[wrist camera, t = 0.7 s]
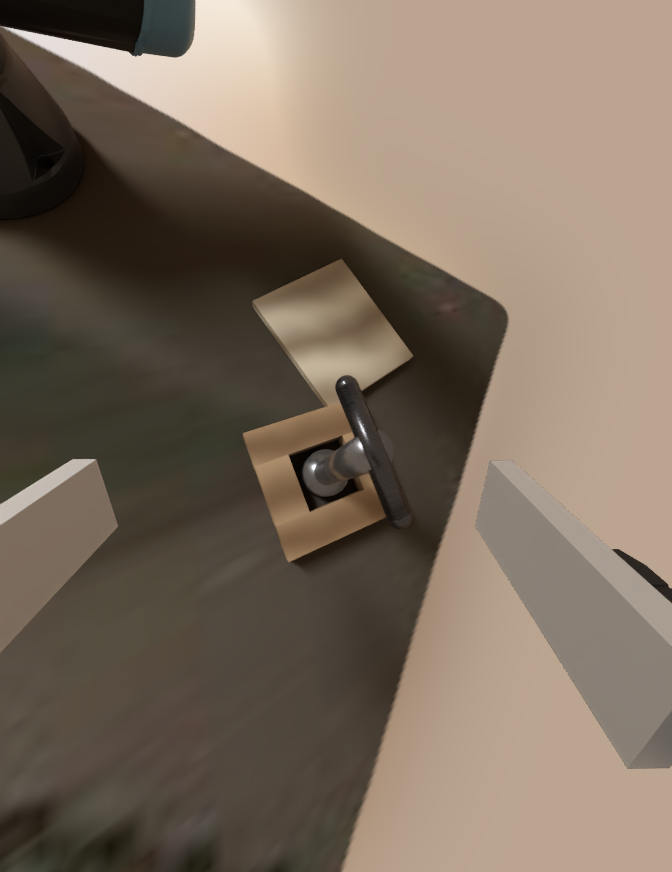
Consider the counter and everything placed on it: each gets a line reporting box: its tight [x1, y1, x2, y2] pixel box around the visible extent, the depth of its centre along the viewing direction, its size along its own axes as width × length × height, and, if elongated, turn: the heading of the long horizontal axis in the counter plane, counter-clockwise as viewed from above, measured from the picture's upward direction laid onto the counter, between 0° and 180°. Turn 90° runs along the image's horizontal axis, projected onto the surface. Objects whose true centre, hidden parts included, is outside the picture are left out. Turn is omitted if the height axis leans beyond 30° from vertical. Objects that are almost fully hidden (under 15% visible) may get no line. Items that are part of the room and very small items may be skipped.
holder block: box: [243, 403, 386, 562], centre depth 31 cm, size 12×12×2 cm
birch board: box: [252, 259, 413, 407], centre depth 35 cm, size 14×12×1 cm
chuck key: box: [301, 375, 412, 529], centre depth 25 cm, size 9×4×15 cm, turn 22°
